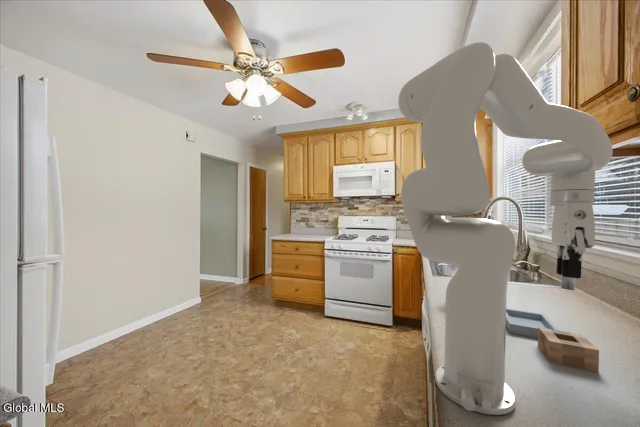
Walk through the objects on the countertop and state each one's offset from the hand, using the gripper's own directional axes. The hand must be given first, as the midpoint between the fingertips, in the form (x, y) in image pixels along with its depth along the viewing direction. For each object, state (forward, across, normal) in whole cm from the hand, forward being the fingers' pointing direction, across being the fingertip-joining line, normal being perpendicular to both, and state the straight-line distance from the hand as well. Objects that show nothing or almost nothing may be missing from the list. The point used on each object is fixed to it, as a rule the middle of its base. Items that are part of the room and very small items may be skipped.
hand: (568, 275), depth 61 cm
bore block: (+18, -3, +1) cm, 19 cm away
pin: (+3, 0, 0) cm, 3 cm away
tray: (+18, +13, +4) cm, 23 cm away
